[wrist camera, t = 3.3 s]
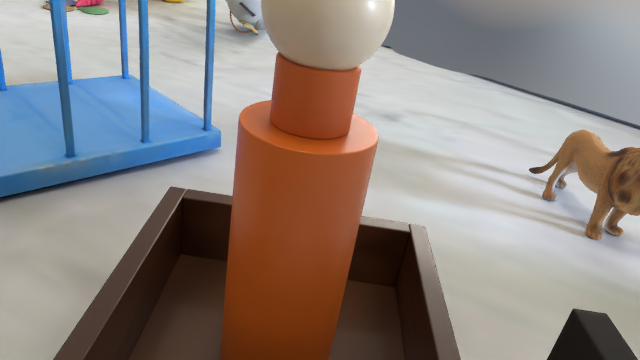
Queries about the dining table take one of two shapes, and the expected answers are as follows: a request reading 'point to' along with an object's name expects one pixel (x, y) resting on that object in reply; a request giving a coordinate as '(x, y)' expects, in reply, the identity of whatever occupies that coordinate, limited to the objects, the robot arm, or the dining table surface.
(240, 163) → the skittle
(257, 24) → the decorative toy
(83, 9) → the toy pieces
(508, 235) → the dining table surface
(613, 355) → the robot arm
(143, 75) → the file sorter
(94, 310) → the crate
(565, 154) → the lion figurine
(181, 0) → the duckling
